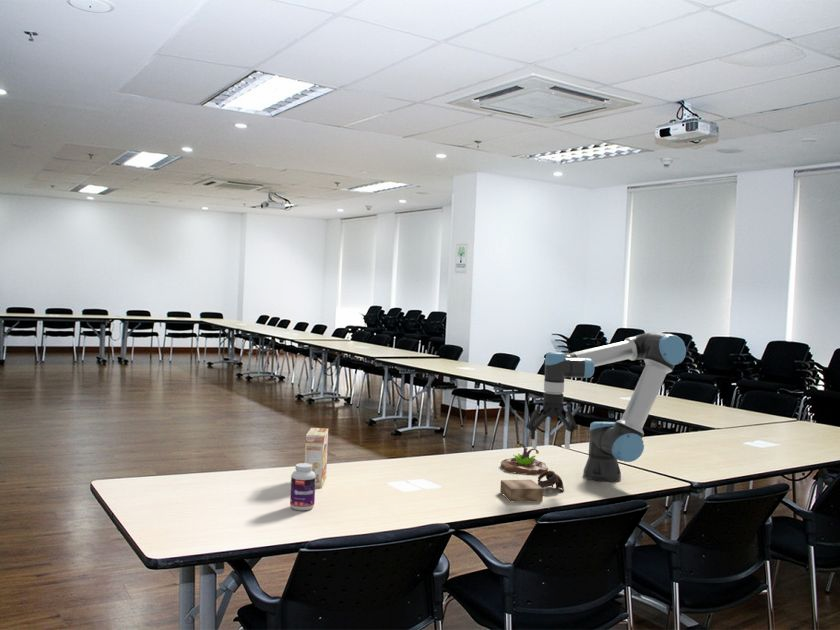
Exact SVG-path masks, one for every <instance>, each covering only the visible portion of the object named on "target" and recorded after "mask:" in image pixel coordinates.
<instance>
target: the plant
mask: <svg viewBox="0 0 840 630" xmlns="http://www.w3.org/2000/svg"><path fill="white" fill-rule="evenodd" d="M516 446H517V448H521V447H523V452H522V453H521V454H520V453H517V455H516V454H513V457H511V458H510V457H509V458H506V459H503V460H502V461H501V462H500V469H501V468H502V469H501V470H503V469H504V470H503V471H504V472H505V471H507V472H506V473H511V472H516V473H515V474H521V473H526V475H529V474H531V475H533V474H538V475H540V474H542V473H543V472H546V471H549V468H548V466H547V465H546V463H545V462H543V461H541V460H537V459H536V457H537V455H539V453H540V451H539V450H538V449H537V448H536V449H534V448H531V449H529V450H528V447H527V446H525V444H524V443H522V442H521V443H517V445H516ZM532 451H535V454H537V455H532V456H530V453H531V452H532Z"/></svg>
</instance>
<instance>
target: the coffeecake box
mask: <svg viewBox="0 0 840 630" xmlns="http://www.w3.org/2000/svg"><path fill="white" fill-rule="evenodd" d="M328 442H329V428H323V427H310V429H309V430H308V432H307V433H306V434H305V443H304V445H305V447H304V463H308V464H312V470H311V471H313V472H314V473H315V475H316V480H315V489H322V488H323V486H324V485H325V483H326V482H325V481H326V479H327V466H328V465H327V464H328V446H329V445H328V444H329V443H328Z"/></svg>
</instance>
